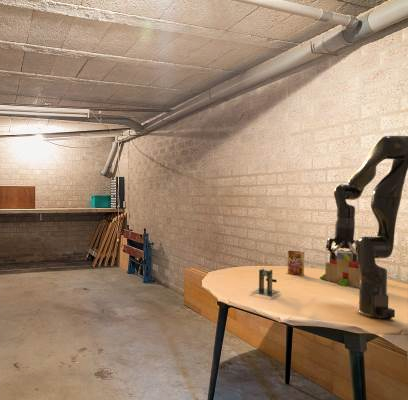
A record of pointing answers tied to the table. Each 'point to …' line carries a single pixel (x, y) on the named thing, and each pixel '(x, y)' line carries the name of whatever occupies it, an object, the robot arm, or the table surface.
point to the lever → (266, 275)
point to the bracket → (269, 284)
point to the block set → (343, 270)
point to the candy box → (296, 262)
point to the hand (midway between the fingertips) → (342, 260)
